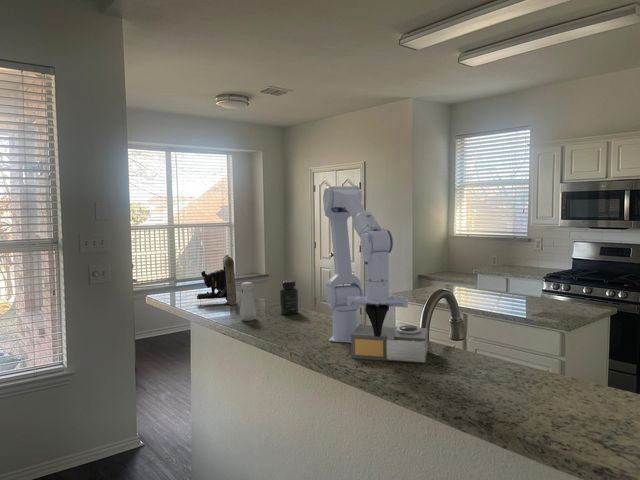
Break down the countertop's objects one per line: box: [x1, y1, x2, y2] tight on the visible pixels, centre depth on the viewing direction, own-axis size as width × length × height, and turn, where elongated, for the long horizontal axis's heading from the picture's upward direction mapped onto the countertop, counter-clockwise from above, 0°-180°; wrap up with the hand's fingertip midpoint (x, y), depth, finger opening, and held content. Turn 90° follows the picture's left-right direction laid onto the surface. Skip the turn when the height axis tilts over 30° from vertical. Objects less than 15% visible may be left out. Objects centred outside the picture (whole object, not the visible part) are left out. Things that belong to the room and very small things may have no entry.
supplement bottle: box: [279, 279, 300, 316], centre depth 170 cm, size 7×7×12 cm
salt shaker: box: [239, 281, 257, 322], centre depth 161 cm, size 6×6×13 cm
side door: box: [387, 326, 426, 363], centre depth 111 cm, size 1×9×8 cm, turn 74°
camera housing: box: [350, 324, 429, 364], centre depth 118 cm, size 10×18×7 cm, turn 74°
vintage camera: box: [196, 254, 237, 306], centre depth 190 cm, size 10×16×20 cm, turn 107°
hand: (377, 335), depth 113 cm, fingers closed
